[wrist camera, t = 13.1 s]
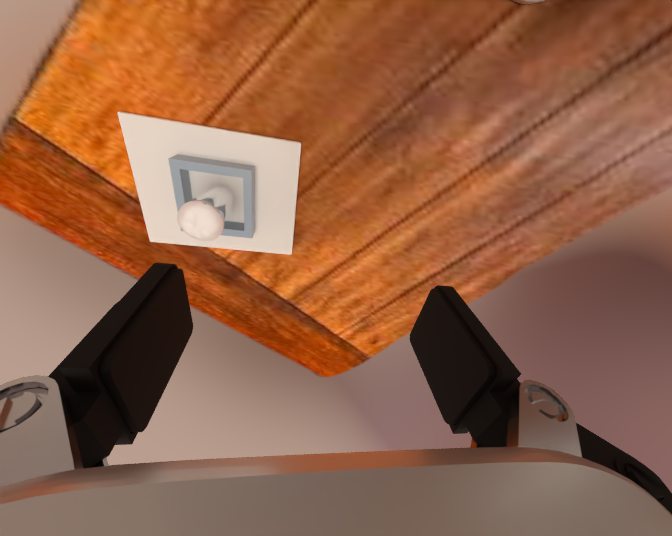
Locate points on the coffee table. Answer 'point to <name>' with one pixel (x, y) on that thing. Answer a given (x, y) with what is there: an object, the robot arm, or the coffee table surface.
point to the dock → (214, 180)
